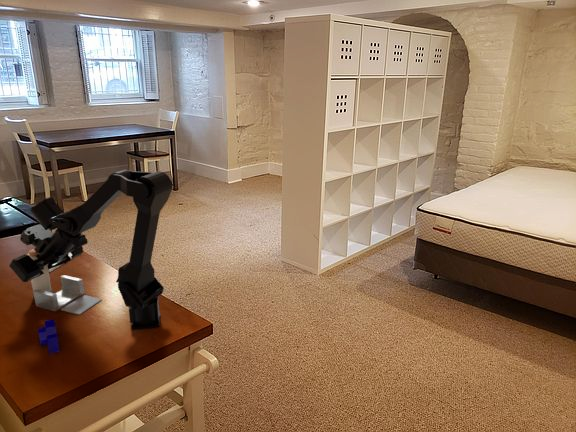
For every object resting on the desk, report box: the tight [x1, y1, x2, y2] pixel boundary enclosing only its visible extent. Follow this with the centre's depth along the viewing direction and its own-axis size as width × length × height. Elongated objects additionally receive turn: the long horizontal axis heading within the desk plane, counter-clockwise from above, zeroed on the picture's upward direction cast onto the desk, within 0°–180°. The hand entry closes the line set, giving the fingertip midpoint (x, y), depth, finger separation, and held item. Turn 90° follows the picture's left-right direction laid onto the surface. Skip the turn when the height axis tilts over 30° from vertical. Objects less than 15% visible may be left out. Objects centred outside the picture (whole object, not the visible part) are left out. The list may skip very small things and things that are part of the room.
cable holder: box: [37, 318, 60, 355], centre depth 98 cm, size 8×4×4 cm, turn 32°
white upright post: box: [26, 248, 53, 295], centre depth 117 cm, size 4×4×14 cm
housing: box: [32, 274, 85, 312], centre depth 116 cm, size 6×10×4 cm, turn 161°
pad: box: [60, 294, 102, 316], centre depth 115 cm, size 6×8×1 cm
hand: (35, 273), depth 117 cm, fingers open, 5 cm apart
